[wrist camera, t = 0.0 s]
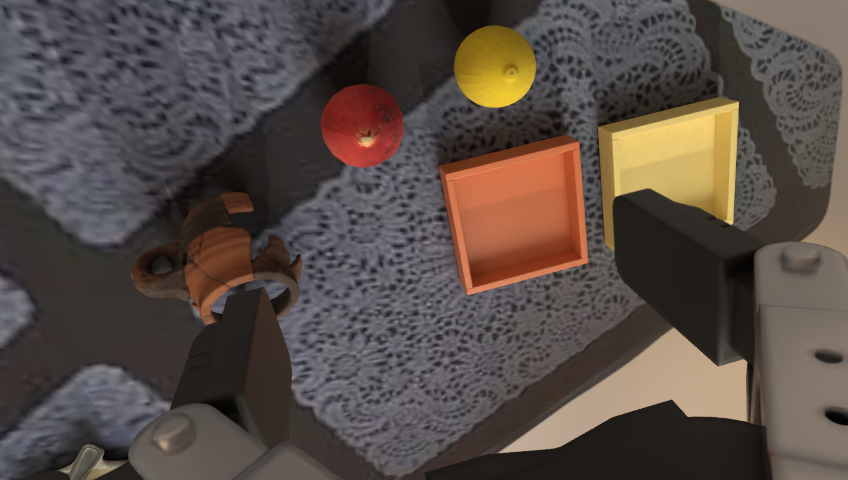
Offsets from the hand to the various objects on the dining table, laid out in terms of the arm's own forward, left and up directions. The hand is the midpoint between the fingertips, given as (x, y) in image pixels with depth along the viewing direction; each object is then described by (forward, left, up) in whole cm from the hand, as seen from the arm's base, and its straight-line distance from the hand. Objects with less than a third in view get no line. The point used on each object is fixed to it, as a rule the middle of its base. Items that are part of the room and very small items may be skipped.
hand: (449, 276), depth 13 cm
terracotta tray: (+13, +11, -33) cm, 37 cm away
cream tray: (+13, +25, -33) cm, 43 cm away
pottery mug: (+10, -13, -33) cm, 37 cm away
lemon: (0, +10, -33) cm, 34 cm away
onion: (+2, 0, -33) cm, 33 cm away
